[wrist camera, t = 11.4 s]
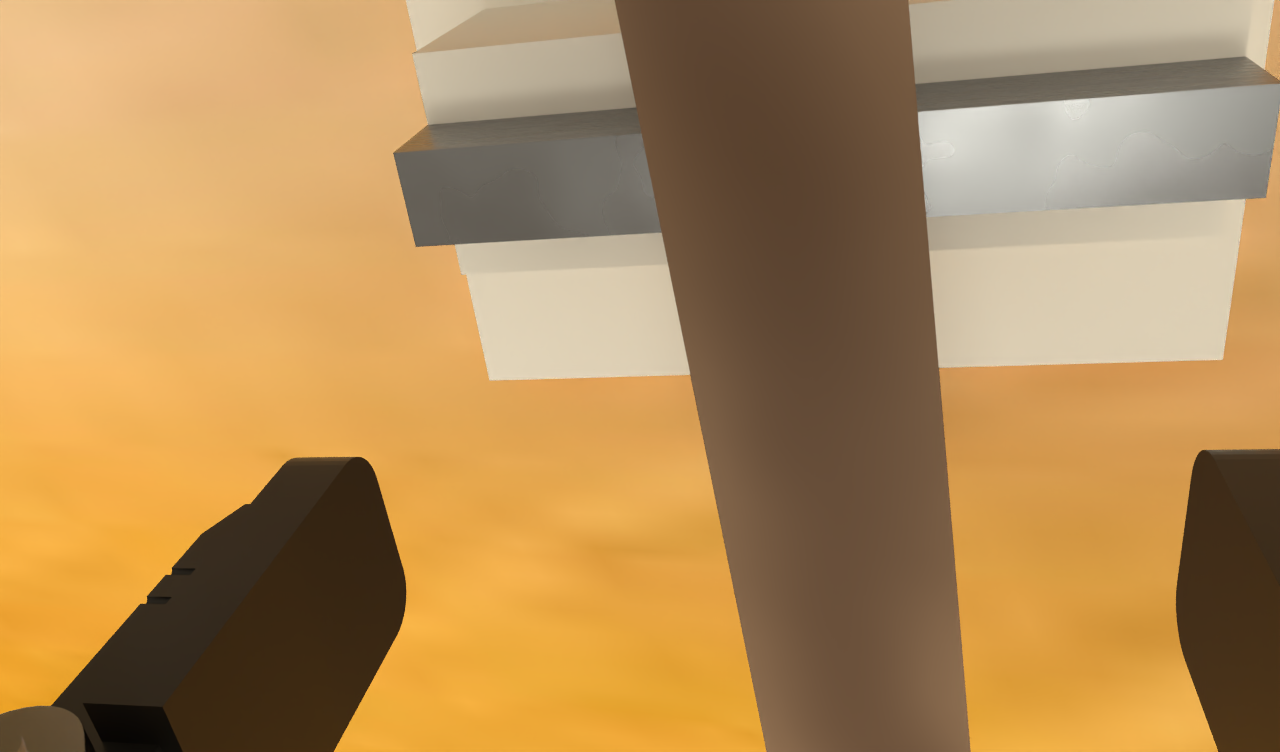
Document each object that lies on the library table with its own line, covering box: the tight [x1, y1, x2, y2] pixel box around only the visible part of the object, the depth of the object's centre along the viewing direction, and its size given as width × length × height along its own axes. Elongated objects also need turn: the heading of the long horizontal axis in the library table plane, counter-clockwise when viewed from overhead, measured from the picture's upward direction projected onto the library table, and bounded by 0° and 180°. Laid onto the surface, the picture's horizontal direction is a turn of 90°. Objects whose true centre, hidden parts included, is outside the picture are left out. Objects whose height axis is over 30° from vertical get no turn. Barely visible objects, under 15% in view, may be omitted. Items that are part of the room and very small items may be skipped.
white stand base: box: [393, 0, 1280, 380], centre depth 24 cm, size 20×16×8 cm
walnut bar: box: [615, 0, 970, 752], centre depth 18 cm, size 4×22×4 cm, turn 12°
